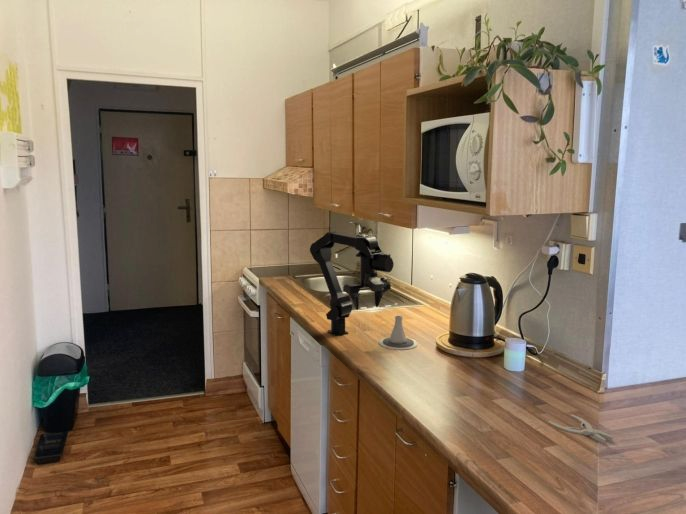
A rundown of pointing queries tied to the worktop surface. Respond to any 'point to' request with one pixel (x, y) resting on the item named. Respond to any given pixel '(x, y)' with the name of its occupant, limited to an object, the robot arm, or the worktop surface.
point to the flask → (398, 332)
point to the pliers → (586, 430)
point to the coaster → (396, 346)
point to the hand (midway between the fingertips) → (367, 308)
